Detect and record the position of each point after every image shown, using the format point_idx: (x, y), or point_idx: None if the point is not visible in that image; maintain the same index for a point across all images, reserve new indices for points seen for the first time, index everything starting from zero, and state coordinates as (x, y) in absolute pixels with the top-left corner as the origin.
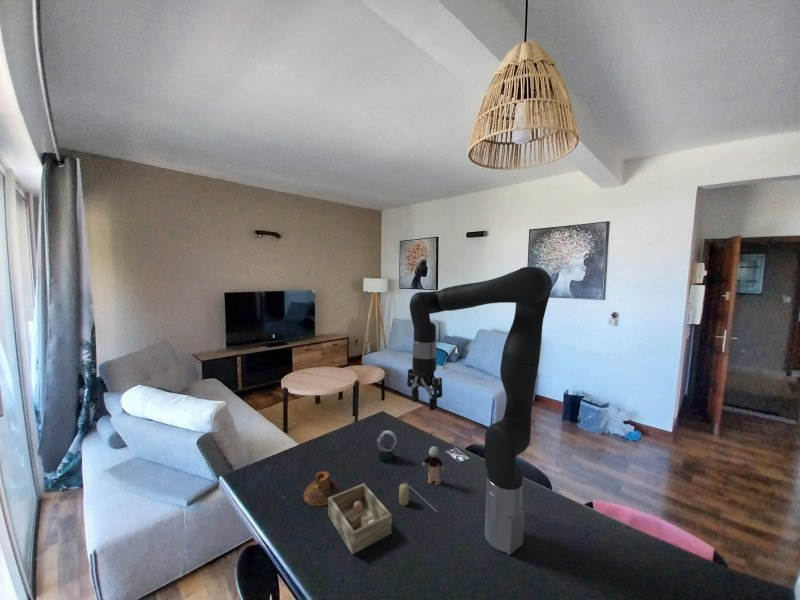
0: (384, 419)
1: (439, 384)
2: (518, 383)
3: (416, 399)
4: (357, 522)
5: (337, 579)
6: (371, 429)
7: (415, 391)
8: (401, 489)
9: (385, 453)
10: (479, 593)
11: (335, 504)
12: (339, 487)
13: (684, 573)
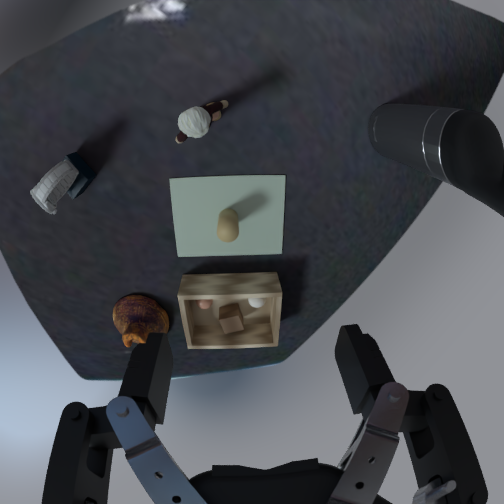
0: None
1: (462, 475)
2: None
3: (166, 352)
4: (240, 315)
5: (288, 342)
6: None
7: (157, 409)
8: (231, 241)
9: (77, 185)
10: (408, 228)
11: (208, 346)
12: (141, 301)
13: (499, 42)
